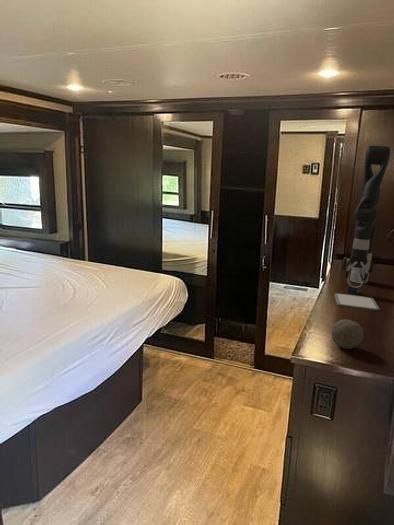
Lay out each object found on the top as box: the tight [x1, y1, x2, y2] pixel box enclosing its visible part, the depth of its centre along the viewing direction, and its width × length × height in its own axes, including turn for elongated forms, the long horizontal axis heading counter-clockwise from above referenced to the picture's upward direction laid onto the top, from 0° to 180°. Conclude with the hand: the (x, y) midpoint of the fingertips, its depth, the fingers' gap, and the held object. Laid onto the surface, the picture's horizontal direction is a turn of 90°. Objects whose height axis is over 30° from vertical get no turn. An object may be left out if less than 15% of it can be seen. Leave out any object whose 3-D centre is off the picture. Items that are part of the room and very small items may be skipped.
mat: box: [334, 292, 381, 312], centre depth 187 cm, size 18×18×1 cm
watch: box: [346, 271, 364, 296], centre depth 201 cm, size 6×8×11 cm
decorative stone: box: [331, 318, 365, 350], centre depth 136 cm, size 10×8×10 cm
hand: (355, 279), depth 200 cm, fingers closed on watch, 8 cm apart
